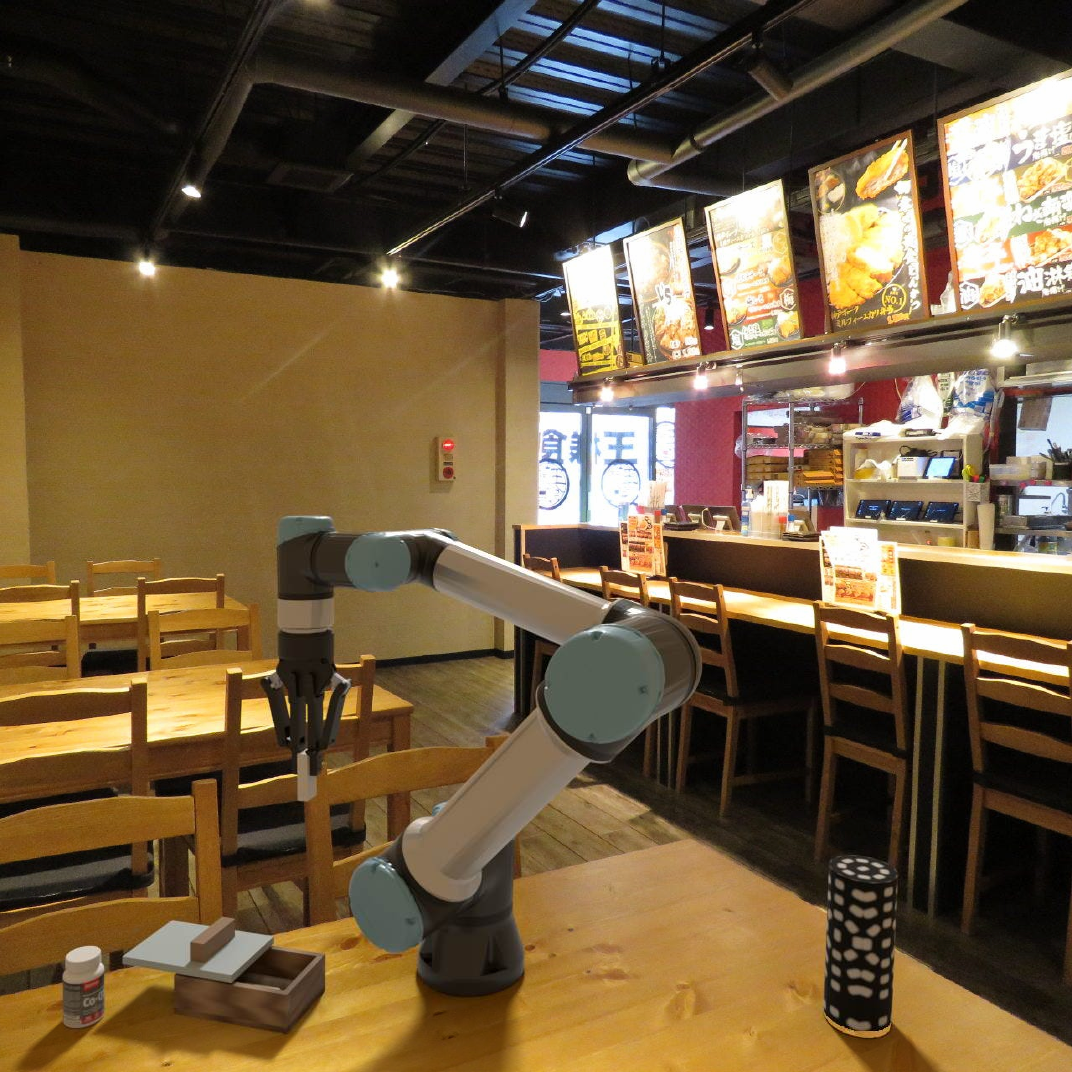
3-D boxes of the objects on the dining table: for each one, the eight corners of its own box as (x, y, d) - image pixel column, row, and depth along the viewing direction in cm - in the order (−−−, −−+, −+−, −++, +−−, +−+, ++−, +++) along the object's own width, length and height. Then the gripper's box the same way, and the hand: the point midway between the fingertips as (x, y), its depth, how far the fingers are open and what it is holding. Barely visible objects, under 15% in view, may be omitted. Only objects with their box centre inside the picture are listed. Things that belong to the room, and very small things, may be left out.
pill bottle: (87, 1031, 110) (86, 966, 109) (54, 1026, 111) (53, 961, 110) (113, 1009, 114) (112, 946, 114) (81, 1004, 115) (80, 942, 115)
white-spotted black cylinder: (858, 1046, 110) (865, 888, 109) (809, 1010, 117) (815, 861, 116) (905, 1028, 114) (912, 875, 112) (855, 994, 121) (861, 850, 120)
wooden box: (325, 990, 120) (325, 953, 119) (286, 1034, 110) (286, 994, 110) (220, 971, 124) (220, 937, 123) (174, 1012, 114) (174, 975, 114)
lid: (273, 943, 121) (273, 918, 121) (231, 982, 112) (231, 955, 111) (172, 927, 125) (171, 902, 125) (122, 963, 116) (122, 937, 115)
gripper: (361, 626, 124) (362, 792, 125) (276, 622, 127) (277, 785, 128) (338, 634, 117) (339, 811, 118) (248, 630, 119) (250, 803, 121)
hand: (307, 797), depth 123 cm, fingers closed
